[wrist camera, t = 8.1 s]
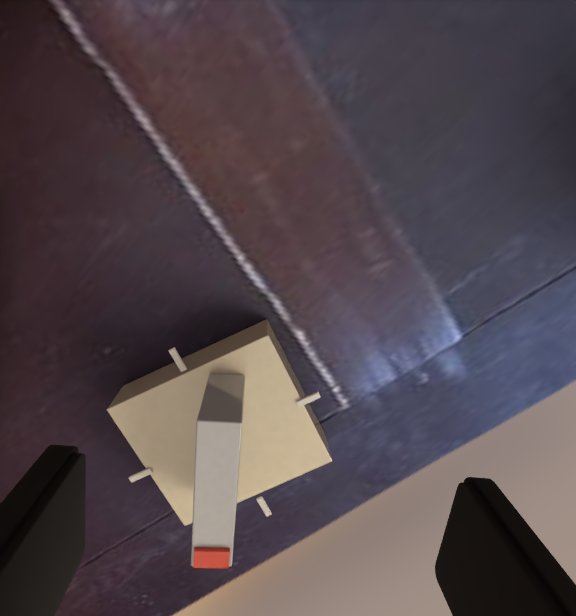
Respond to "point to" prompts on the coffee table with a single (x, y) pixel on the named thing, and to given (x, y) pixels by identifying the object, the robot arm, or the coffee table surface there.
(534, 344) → the coffee table surface
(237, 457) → the grey rectangular block
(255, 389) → the base
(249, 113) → the coffee table surface
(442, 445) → the coffee table surface
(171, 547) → the coffee table surface
